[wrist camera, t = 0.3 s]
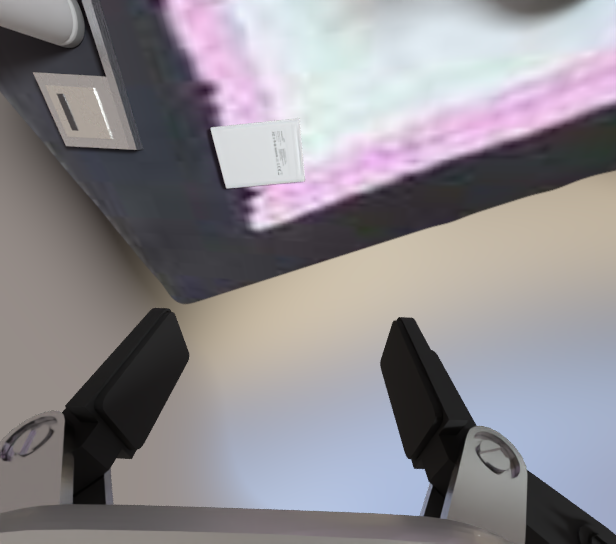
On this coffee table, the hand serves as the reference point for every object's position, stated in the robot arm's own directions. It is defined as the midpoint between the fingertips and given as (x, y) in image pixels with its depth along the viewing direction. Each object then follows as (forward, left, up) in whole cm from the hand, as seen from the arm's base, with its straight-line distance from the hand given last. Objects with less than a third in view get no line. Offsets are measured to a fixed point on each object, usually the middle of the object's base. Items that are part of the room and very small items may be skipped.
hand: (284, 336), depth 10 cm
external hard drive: (-4, -7, -32) cm, 33 cm away
